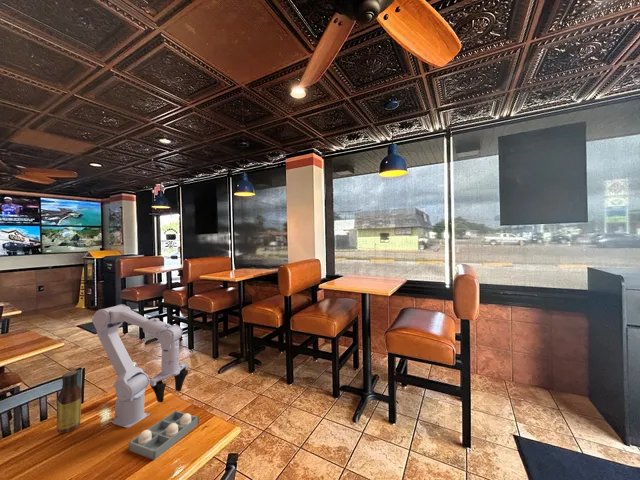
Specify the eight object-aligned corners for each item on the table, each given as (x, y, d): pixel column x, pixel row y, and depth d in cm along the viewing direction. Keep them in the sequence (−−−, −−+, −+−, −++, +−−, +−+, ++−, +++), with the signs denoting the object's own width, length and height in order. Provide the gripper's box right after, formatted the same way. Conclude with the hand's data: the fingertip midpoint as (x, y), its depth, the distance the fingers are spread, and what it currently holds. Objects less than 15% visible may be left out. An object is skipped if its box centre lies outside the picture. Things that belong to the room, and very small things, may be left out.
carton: (128, 451, 81) (128, 442, 81) (175, 418, 97) (175, 410, 97) (154, 462, 77) (154, 451, 77) (198, 425, 93) (198, 417, 93)
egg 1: (135, 448, 82) (135, 433, 82) (146, 440, 85) (146, 426, 85) (143, 450, 80) (143, 436, 81) (154, 442, 84) (154, 428, 84)
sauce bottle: (63, 424, 94) (65, 369, 95) (84, 421, 96) (86, 367, 96) (51, 437, 87) (53, 378, 88) (73, 432, 89) (75, 375, 90)
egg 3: (177, 429, 90) (177, 416, 90) (185, 423, 93) (186, 410, 94) (185, 431, 89) (185, 418, 89) (193, 425, 92) (193, 412, 92)
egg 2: (163, 440, 85) (163, 426, 85) (172, 433, 88) (173, 419, 88) (171, 443, 84) (171, 428, 84) (180, 435, 87) (180, 421, 87)
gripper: (160, 369, 88) (159, 409, 87) (193, 353, 102) (193, 387, 101) (145, 366, 90) (144, 405, 90) (180, 351, 104) (180, 384, 103)
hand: (169, 395), depth 95 cm, fingers open, 7 cm apart
